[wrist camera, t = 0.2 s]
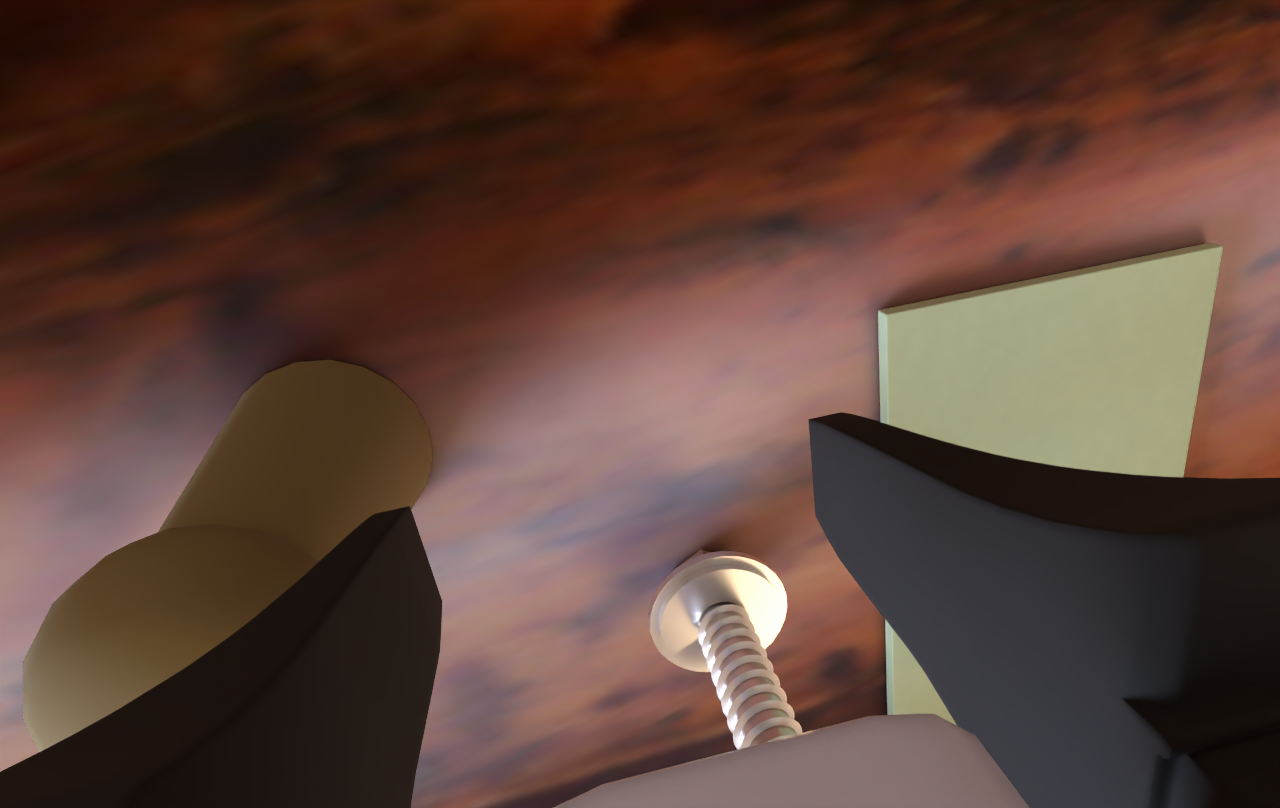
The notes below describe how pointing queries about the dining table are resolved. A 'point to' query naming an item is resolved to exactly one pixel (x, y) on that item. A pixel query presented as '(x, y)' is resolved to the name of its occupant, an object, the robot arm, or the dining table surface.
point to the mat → (1051, 381)
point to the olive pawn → (228, 539)
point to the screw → (728, 637)
